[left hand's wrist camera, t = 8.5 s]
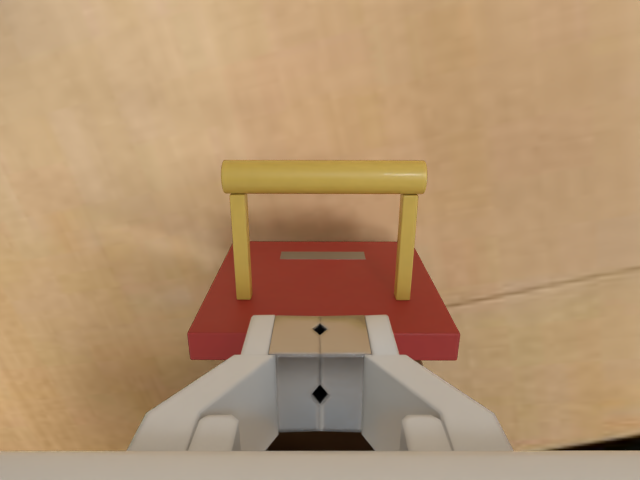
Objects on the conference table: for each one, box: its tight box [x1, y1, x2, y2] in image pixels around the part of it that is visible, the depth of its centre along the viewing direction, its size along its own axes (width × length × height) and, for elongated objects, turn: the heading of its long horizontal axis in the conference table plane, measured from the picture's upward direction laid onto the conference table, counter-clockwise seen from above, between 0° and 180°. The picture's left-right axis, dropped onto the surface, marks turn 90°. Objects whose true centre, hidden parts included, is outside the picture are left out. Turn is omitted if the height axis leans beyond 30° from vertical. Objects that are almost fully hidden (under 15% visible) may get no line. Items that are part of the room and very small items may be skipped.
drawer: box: [187, 160, 460, 451], centre depth 23 cm, size 22×10×10 cm, turn 0°
